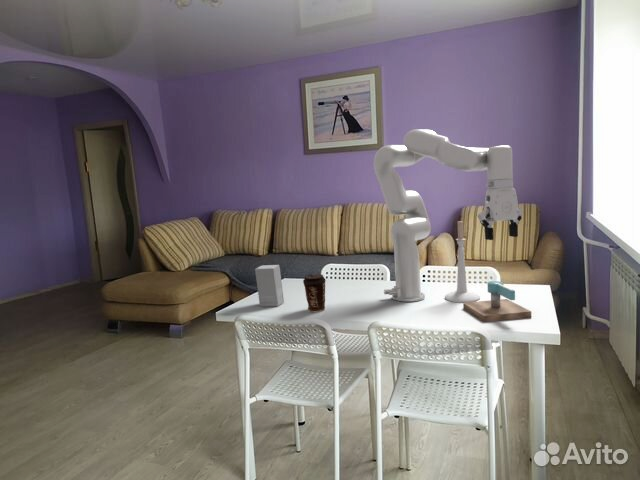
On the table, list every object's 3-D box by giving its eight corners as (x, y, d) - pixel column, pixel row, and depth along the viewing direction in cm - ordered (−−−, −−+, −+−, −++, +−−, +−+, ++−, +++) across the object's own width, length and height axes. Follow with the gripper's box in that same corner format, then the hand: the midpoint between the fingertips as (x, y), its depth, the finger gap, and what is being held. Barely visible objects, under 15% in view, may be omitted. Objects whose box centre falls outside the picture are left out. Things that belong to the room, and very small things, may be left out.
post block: (483, 321, 147) (483, 300, 146) (463, 308, 163) (462, 289, 162) (531, 317, 149) (531, 296, 148) (506, 304, 165) (506, 285, 164)
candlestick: (470, 304, 167) (468, 222, 164) (438, 299, 176) (436, 221, 172) (485, 296, 177) (484, 218, 173) (454, 292, 185) (452, 218, 182)
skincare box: (284, 302, 186) (281, 264, 184) (277, 307, 180) (274, 267, 178) (265, 302, 189) (262, 264, 187) (257, 306, 183) (254, 267, 181)
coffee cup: (306, 307, 178) (303, 274, 176) (327, 306, 177) (325, 272, 176) (304, 313, 169) (302, 279, 167) (327, 312, 169) (325, 277, 167)
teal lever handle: (485, 290, 157) (484, 281, 157) (499, 289, 158) (498, 280, 157) (505, 300, 143) (505, 290, 143) (520, 299, 144) (520, 289, 144)
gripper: (486, 186, 141) (487, 242, 143) (530, 183, 147) (531, 236, 149) (470, 187, 148) (471, 239, 150) (513, 183, 154) (514, 234, 156)
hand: (501, 238), depth 150 cm, fingers open, 9 cm apart
